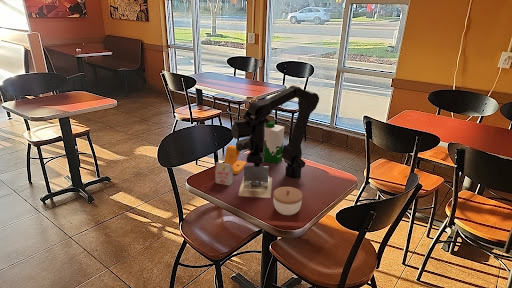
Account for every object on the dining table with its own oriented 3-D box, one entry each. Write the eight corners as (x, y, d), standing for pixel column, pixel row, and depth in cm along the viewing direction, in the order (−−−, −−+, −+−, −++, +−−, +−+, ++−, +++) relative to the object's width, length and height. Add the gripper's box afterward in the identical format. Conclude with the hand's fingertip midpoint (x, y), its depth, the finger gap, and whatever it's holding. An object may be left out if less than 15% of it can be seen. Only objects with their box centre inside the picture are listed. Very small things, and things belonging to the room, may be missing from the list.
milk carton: (269, 156, 169) (270, 119, 161) (284, 160, 164) (286, 122, 157) (260, 162, 162) (261, 123, 154) (276, 166, 157) (278, 127, 150)
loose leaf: (267, 187, 136) (268, 185, 138) (268, 167, 132) (268, 164, 134) (244, 186, 137) (244, 183, 139) (243, 166, 133) (244, 163, 135)
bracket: (238, 176, 148) (238, 152, 143) (223, 173, 150) (223, 149, 145) (247, 166, 157) (247, 143, 152) (233, 164, 159) (233, 141, 155)
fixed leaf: (268, 177, 145) (269, 172, 144) (267, 188, 136) (267, 183, 135) (246, 176, 146) (246, 171, 145) (243, 186, 137) (244, 181, 136)
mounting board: (272, 179, 145) (272, 177, 145) (270, 199, 129) (270, 197, 129) (243, 178, 146) (243, 176, 146) (238, 198, 130) (238, 195, 130)
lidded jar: (271, 218, 118) (272, 196, 114) (273, 202, 128) (274, 181, 124) (301, 221, 116) (303, 198, 113) (301, 205, 126) (303, 183, 123)
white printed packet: (218, 181, 143) (218, 160, 140) (233, 183, 141) (232, 162, 137) (215, 184, 140) (214, 163, 136) (229, 187, 138) (229, 166, 134)
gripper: (240, 125, 138) (240, 158, 144) (233, 141, 121) (233, 178, 127) (266, 126, 137) (265, 159, 143) (263, 143, 120) (261, 180, 126)
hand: (256, 169), depth 135 cm, fingers closed
